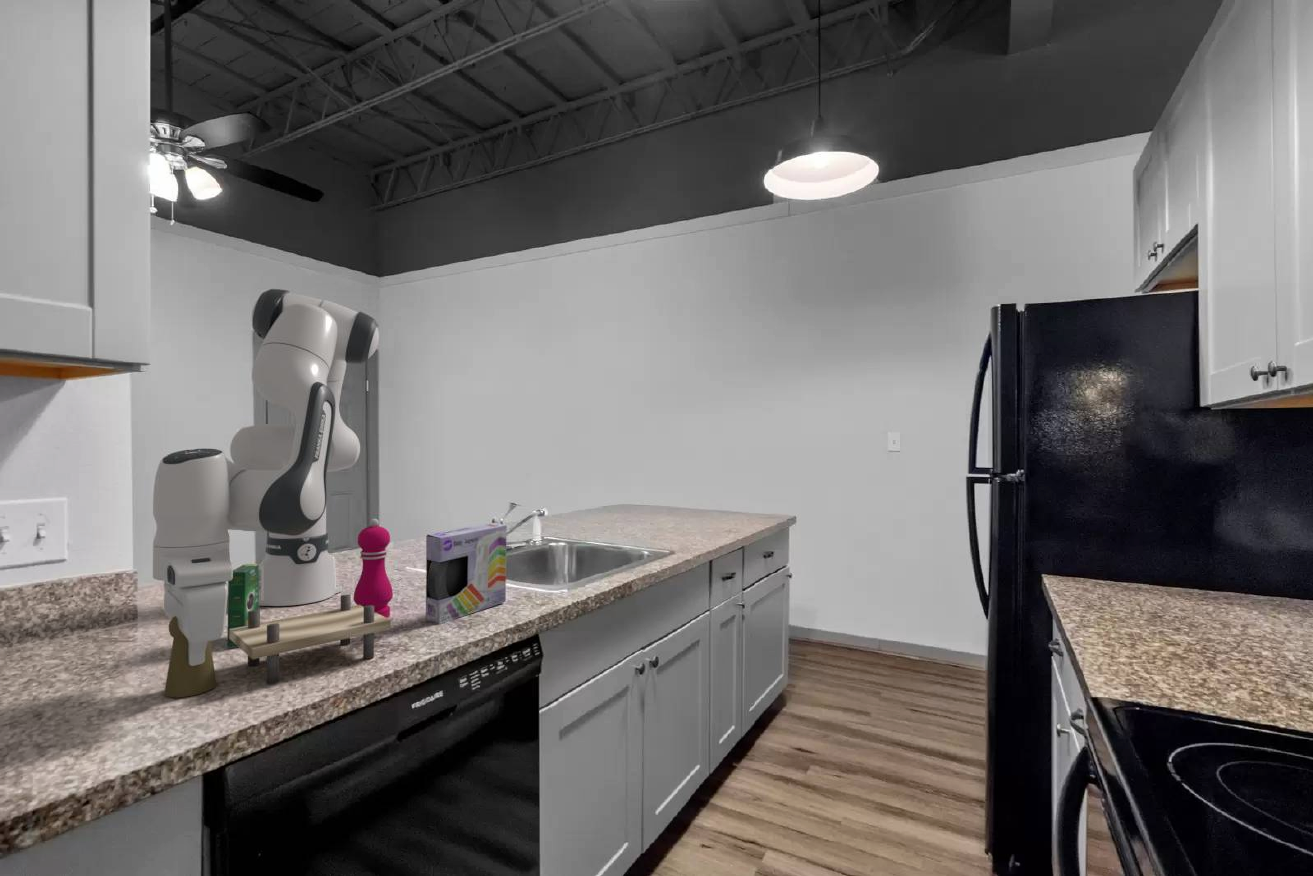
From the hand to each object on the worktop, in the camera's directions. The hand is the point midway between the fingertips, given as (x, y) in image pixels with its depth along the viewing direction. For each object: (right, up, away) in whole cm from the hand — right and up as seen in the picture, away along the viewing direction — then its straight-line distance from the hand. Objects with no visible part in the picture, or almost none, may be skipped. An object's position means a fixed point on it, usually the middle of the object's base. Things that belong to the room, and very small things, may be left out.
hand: (191, 657), depth 89 cm
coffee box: (-7, -5, +21) cm, 23 cm away
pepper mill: (+10, -5, +36) cm, 38 cm away
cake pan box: (+27, -5, +40) cm, 49 cm away
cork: (0, -5, 0) cm, 5 cm away
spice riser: (+11, -5, +12) cm, 17 cm away
